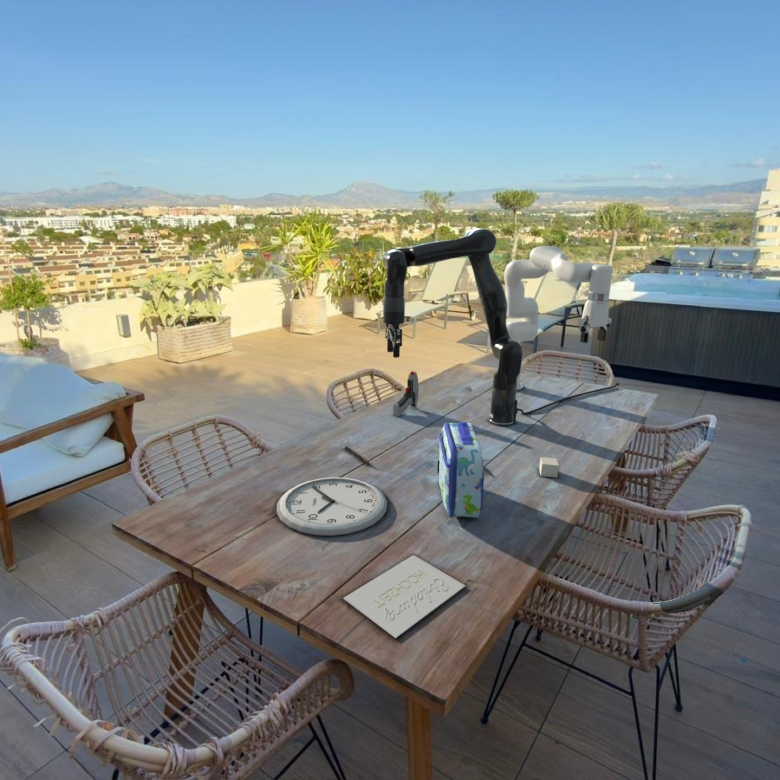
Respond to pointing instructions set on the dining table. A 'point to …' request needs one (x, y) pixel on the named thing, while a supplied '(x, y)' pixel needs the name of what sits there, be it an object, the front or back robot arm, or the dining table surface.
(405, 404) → the toy gun
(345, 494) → the wall clock
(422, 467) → the dining table surface
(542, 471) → the block
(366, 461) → the brown thin rod
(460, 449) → the lunch box
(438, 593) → the invitation card
